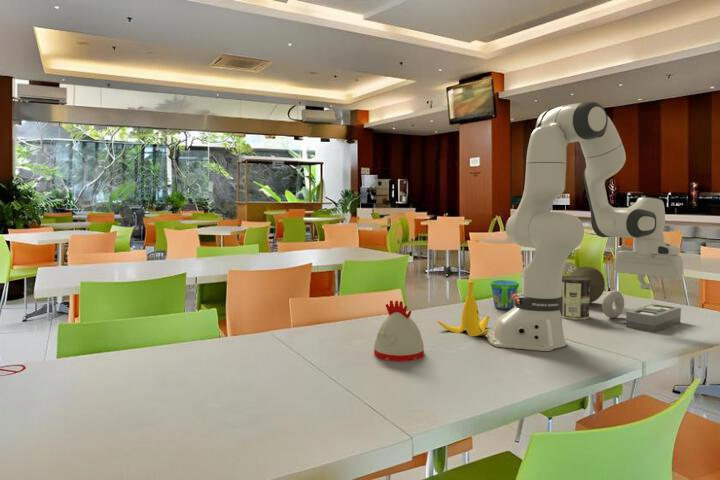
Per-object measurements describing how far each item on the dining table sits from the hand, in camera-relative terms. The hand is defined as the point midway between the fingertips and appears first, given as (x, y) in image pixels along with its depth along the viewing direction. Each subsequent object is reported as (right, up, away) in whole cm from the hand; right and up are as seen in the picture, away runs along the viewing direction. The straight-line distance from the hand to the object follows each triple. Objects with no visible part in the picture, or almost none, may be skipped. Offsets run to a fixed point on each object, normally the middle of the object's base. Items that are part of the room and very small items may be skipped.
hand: (646, 289), depth 171 cm
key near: (0, -10, +1) cm, 10 cm away
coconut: (-3, -10, +38) cm, 40 cm away
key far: (+10, -9, +8) cm, 16 cm away
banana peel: (-61, -14, -2) cm, 62 cm away
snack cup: (-38, -11, +33) cm, 51 cm away
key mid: (+5, -9, +5) cm, 11 cm away
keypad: (+5, -12, +5) cm, 14 cm away
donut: (-4, -12, +14) cm, 19 cm away
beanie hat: (-83, -16, -25) cm, 88 cm away
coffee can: (-17, -12, +17) cm, 27 cm away
